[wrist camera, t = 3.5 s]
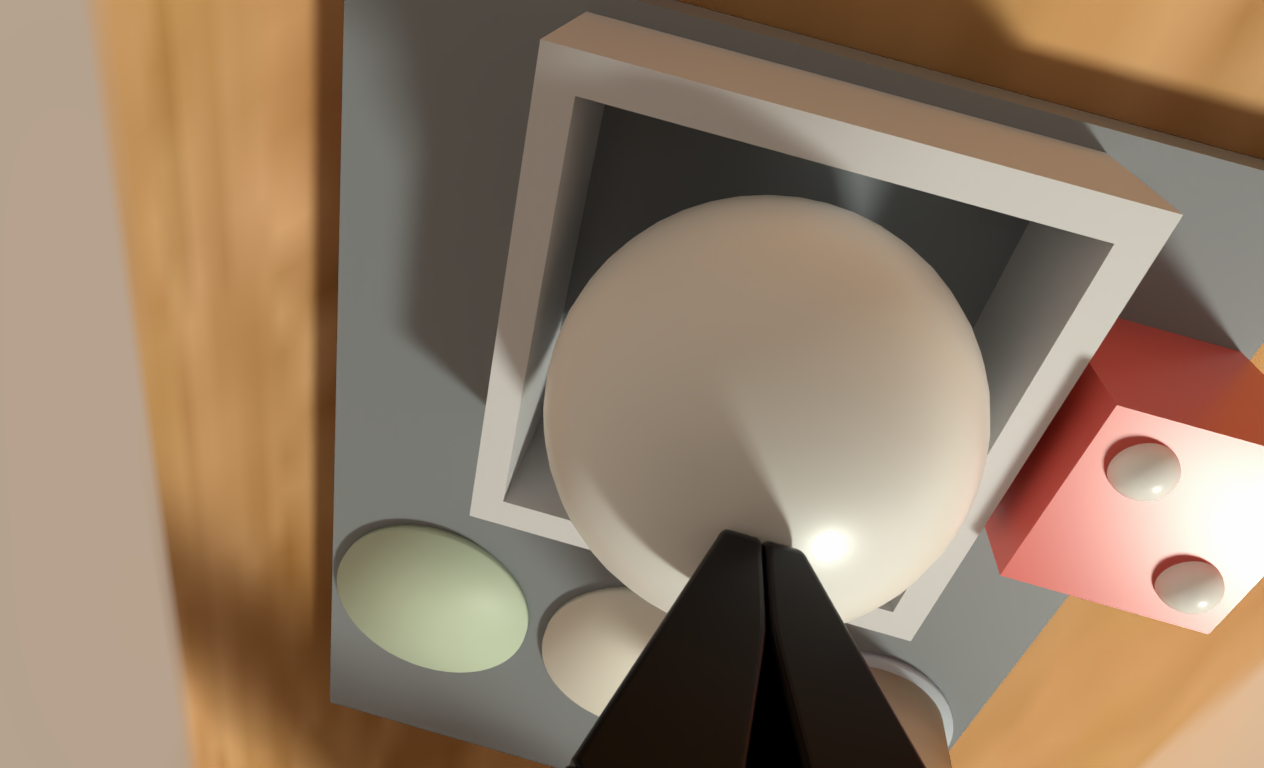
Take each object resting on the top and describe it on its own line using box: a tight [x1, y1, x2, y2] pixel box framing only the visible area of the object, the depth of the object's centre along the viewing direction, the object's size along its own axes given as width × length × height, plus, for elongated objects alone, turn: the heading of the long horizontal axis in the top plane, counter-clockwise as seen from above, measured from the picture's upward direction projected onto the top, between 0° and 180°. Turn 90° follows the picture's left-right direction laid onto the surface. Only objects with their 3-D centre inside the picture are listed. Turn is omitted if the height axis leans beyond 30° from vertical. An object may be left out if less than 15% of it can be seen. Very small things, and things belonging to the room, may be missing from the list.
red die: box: [985, 318, 1264, 634], centre depth 11 cm, size 3×3×3 cm
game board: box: [330, 0, 1264, 768], centre depth 15 cm, size 18×14×4 cm
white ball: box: [543, 195, 990, 623], centre depth 10 cm, size 6×6×6 cm
